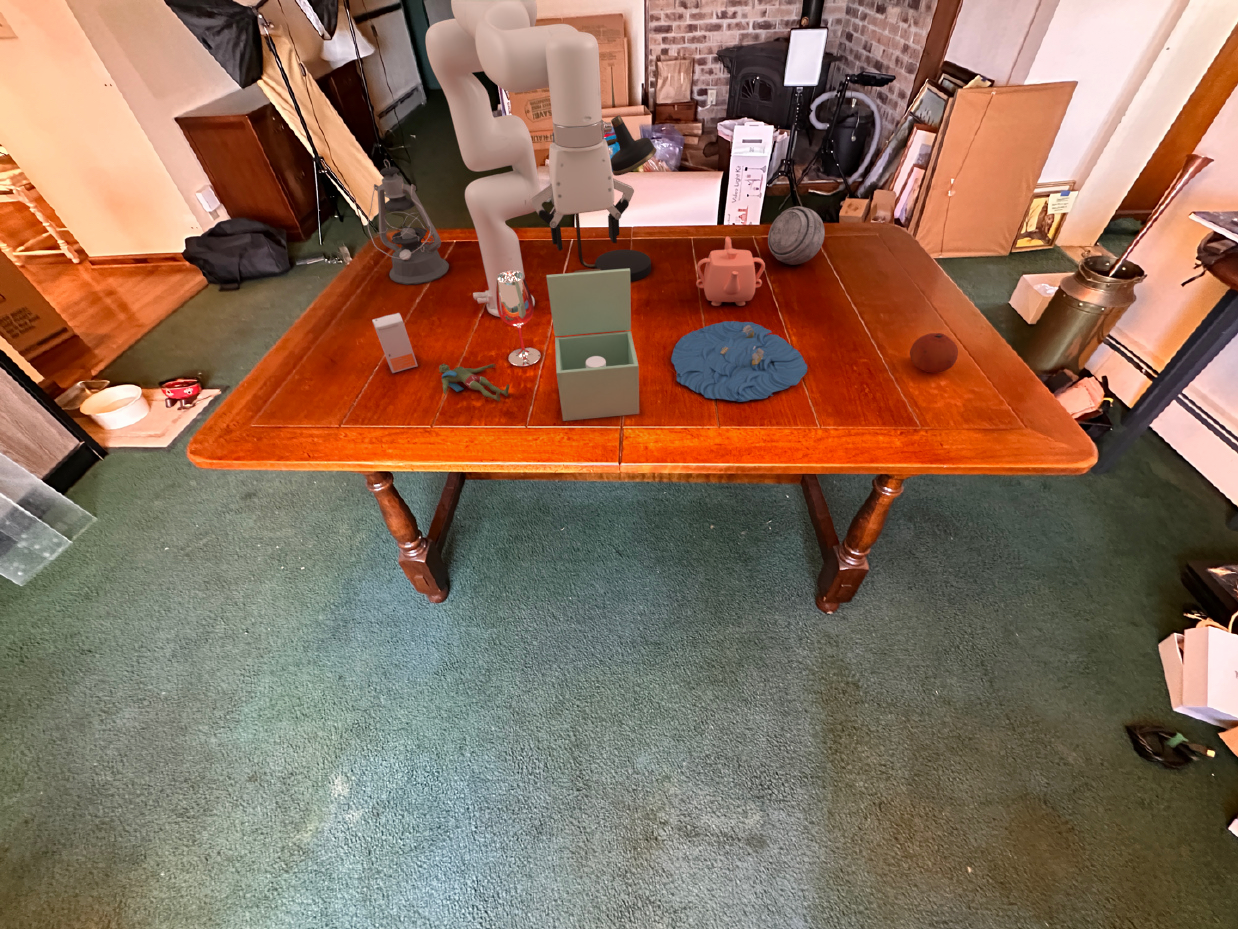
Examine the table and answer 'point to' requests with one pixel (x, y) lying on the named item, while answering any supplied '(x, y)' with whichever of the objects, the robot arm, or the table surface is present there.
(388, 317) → the cosmetic box
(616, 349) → the chest
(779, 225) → the decorative orb
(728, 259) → the teapot
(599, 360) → the pill bottle
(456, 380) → the figurine
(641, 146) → the lamp
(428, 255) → the lantern
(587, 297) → the lid
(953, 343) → the fruit
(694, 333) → the blue flat rumpled sheet
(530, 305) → the wineglass
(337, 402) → the table surface
